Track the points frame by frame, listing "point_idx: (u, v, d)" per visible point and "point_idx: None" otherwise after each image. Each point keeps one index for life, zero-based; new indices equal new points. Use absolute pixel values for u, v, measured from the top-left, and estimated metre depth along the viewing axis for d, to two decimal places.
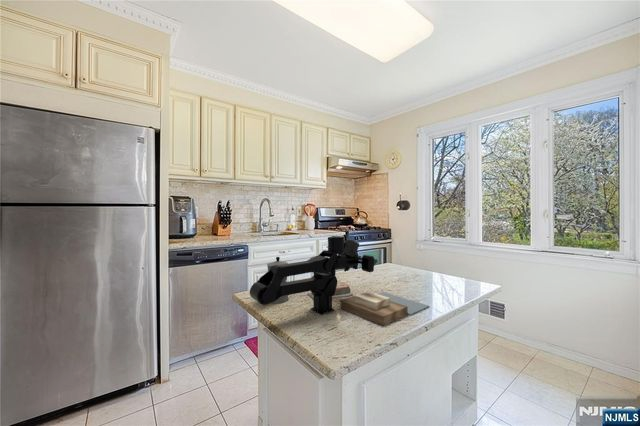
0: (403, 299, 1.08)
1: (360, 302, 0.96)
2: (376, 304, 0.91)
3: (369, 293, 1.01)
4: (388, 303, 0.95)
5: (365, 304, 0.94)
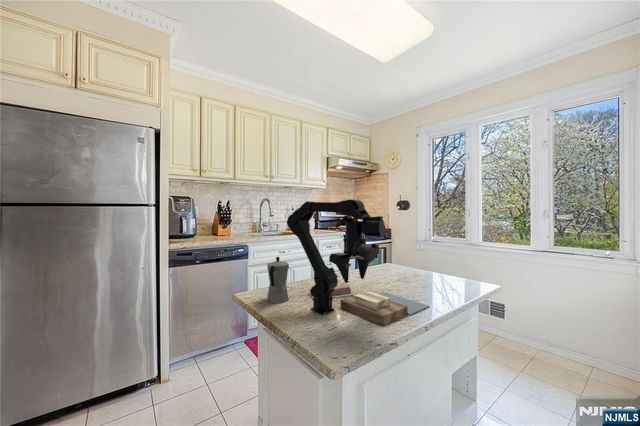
0: (403, 299, 1.08)
1: (360, 302, 0.96)
2: (376, 304, 0.91)
3: (369, 293, 1.01)
4: (388, 303, 0.95)
5: (365, 304, 0.94)
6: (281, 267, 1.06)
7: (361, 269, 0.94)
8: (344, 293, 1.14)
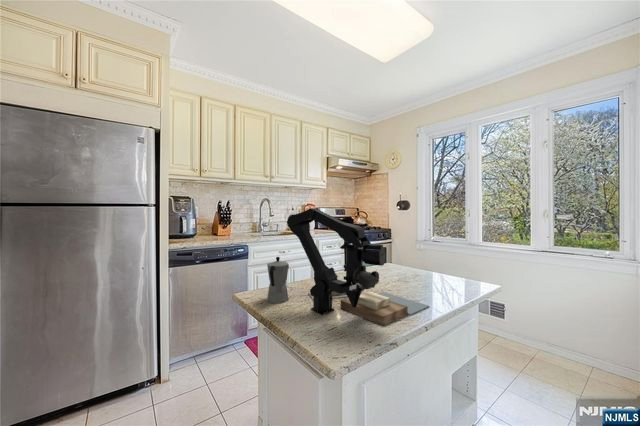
0: (403, 299, 1.08)
1: (360, 302, 0.96)
2: (376, 304, 0.91)
3: (369, 293, 1.01)
4: (388, 303, 0.95)
5: (365, 304, 0.94)
6: (281, 267, 1.06)
7: None
8: (344, 294, 1.14)
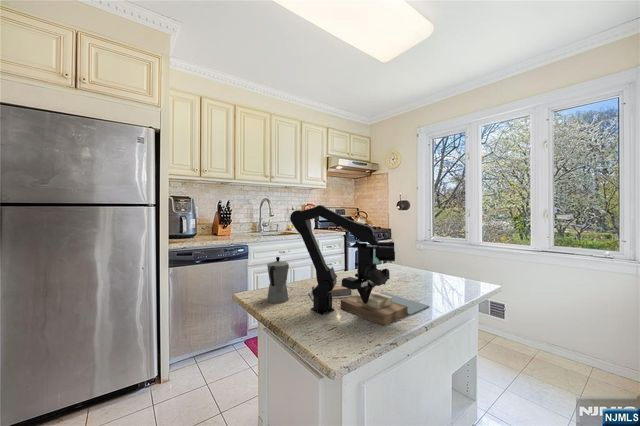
0: (403, 299, 1.08)
1: (362, 301, 0.97)
2: (378, 303, 0.91)
3: (371, 292, 1.01)
4: (390, 302, 0.96)
5: (367, 303, 0.95)
6: (281, 267, 1.06)
7: None
8: (344, 294, 1.13)
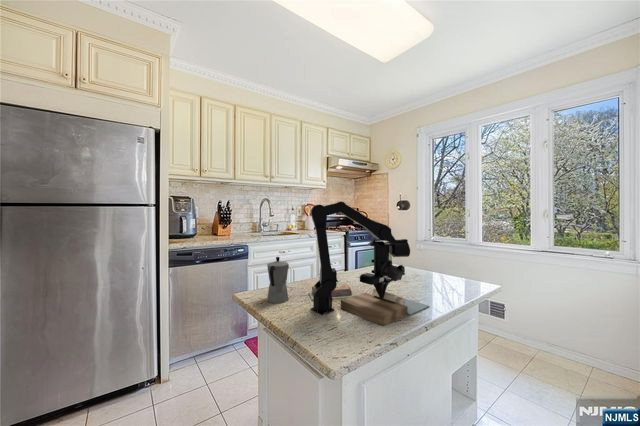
0: None
1: None
2: (395, 296, 0.97)
3: None
4: (403, 303, 1.01)
5: None
6: (281, 267, 1.06)
7: None
8: (344, 295, 1.12)
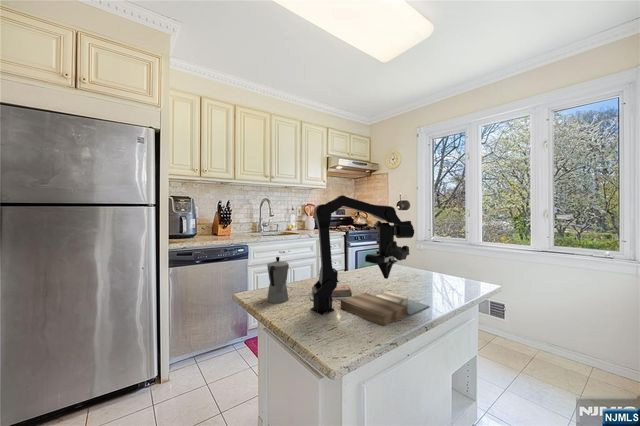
0: None
1: None
2: None
3: (387, 293, 1.08)
4: (406, 302, 1.03)
5: None
6: (281, 267, 1.06)
7: None
8: (344, 295, 1.11)
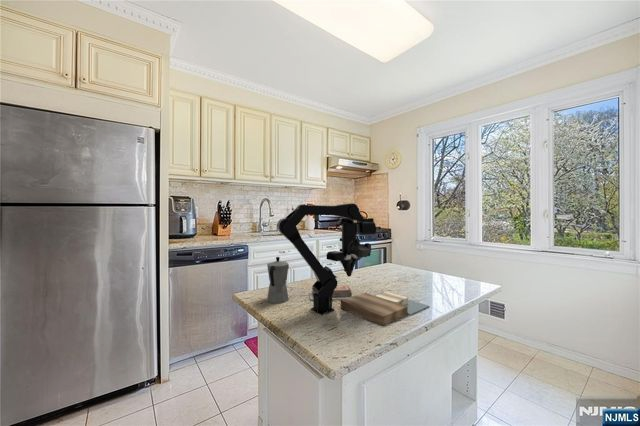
0: None
1: None
2: None
3: (387, 293, 1.08)
4: (406, 302, 1.03)
5: None
6: (281, 267, 1.06)
7: None
8: (343, 296, 1.11)
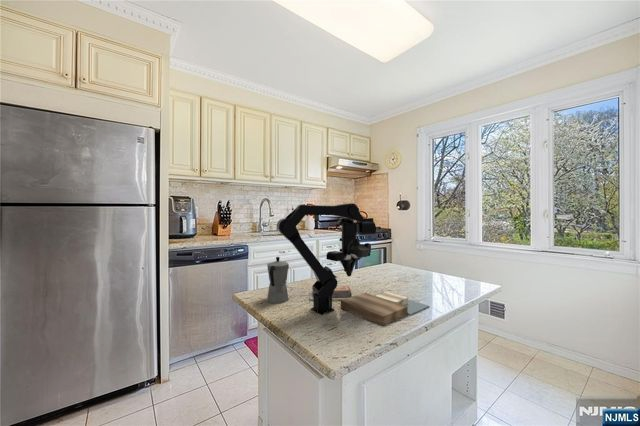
0: None
1: None
2: None
3: (387, 293, 1.08)
4: (406, 302, 1.03)
5: None
6: (281, 267, 1.06)
7: None
8: (343, 296, 1.10)
